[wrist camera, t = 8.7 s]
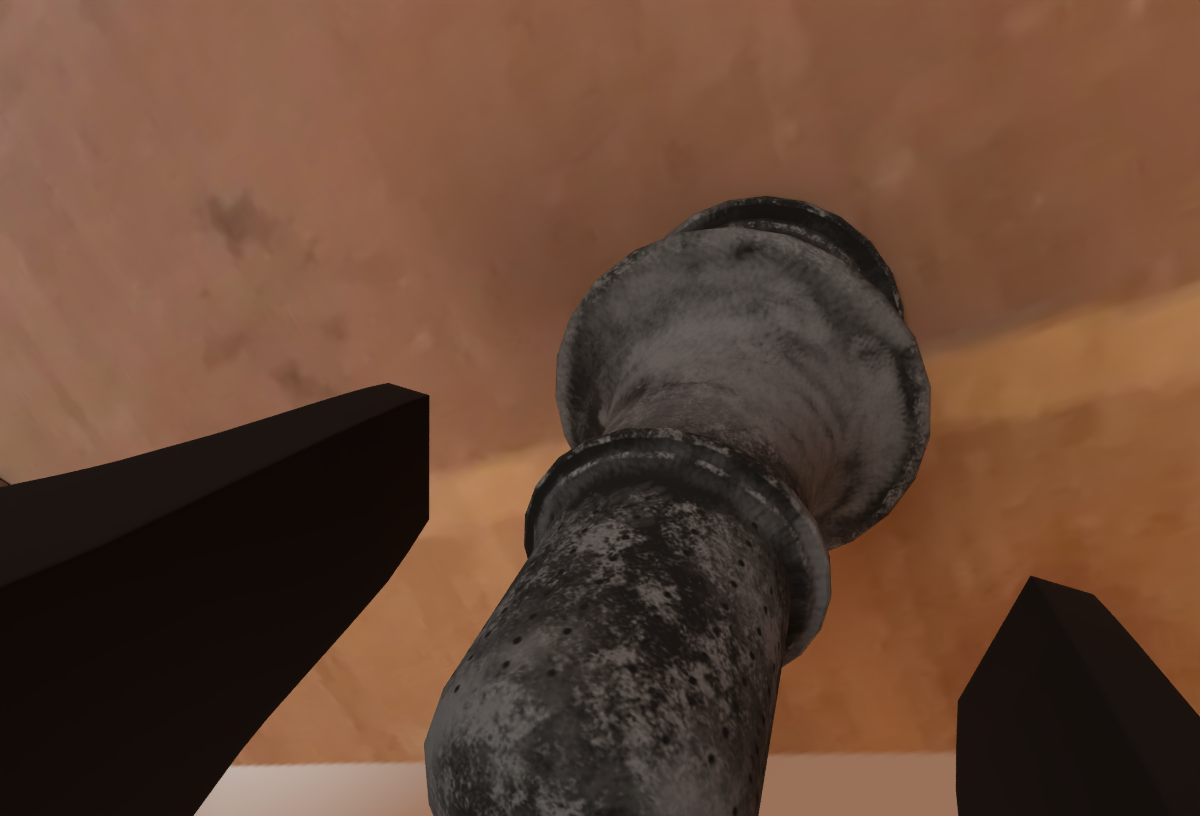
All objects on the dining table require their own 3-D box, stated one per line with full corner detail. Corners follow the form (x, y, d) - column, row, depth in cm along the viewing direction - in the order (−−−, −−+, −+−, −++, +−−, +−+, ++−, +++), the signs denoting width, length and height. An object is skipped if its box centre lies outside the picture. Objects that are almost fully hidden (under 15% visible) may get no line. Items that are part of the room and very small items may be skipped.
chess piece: (996, 290, 13) (1402, 1321, 3) (801, 507, 16) (661, 1331, 6) (708, 116, 13) (113, 474, 3) (574, 364, 16) (77, 930, 6)
